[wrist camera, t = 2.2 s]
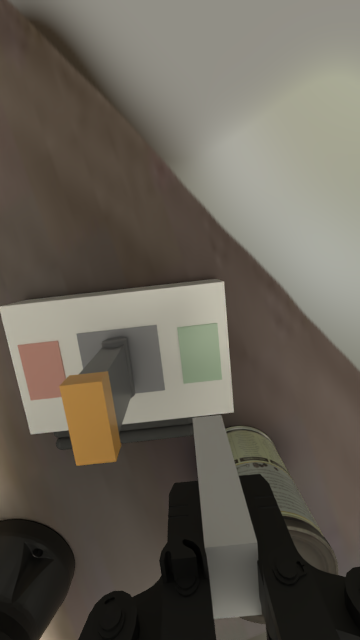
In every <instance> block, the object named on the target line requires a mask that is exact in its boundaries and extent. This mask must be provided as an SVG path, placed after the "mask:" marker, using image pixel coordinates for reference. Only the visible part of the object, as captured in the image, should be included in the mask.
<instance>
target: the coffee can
mask: <svg viewBox="0 0 360 640" xmlns="http://www.w3.org/2000/svg"><path fill="white" fill-rule="evenodd" d="M225 430H226V433H227V437H228V440H229V444H230V447H231V451H232V455H233V458H234V462H235V465H236V469H237V472H238V476H242V475H252V474H261V475H262V476H263V477H264V478H265V479H266V481H267V482H268V483H269V484H270V487H271V489H272V491H273V494H274V497H275V499H276V501H277V504H278V507H279V509H280V511H281V513H282V516H283V518H284V521H285V523H286V526H287V528H288V530H289V533H290V535H291V538H292V540H293V543H294V545H295V547H296V549H297V551H298V552H299V554H300V555H301V556H302V557H303V559H304V560H306V561H307V562H308V563H309V564H310V565H312V566H314V567H315V568H317V569H319V570H322V571H324V572H328V573H331V574H335V575H338V563H337V559H336V556H335V554H334V552H333V550H332V548H331V546H330V545H329V543H328V542H327V540H326V539H325V538H324V536H323V535H322V533H321V531H320V529H319V527H318V526H317V524H316V522H315V520H314V518H313V516H312V514H311V513H310V511H309V509H308V507H307V505H306V504H305V502H304V500H303V498H302V496H301V495H300V493H299V491H298V489H297V487H296V485H295V484H294V482H293V480H292V478H291V476H290V474H289V473H288V471H287V469H286V467H285V465H284V463H283V462H282V460H281V458H280V456H279V454H278V453H277V451H276V449H275V446H274V444H273V442H272V441H271V439H270V438H269V437H268V436H267V435H266V434H264V433H263V432H261V431H260V430H258V429H255V428H252V427H248V426H234V427H229V428H226V429H225ZM261 609H262V607H261ZM240 618H242V619H244V620H247V621H251V622H254V623H260V624H266V623H265V619H264V615H263V611H262V615H252V616H241V617H240Z"/></svg>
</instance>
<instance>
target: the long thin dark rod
mask: <svg viewBox="0 0 360 640" xmlns="http://www.w3.org/2000/svg"><path fill="white" fill-rule="evenodd" d="M192 418H195V417H187V418H177V419H168V420H159V421H150V422H140V423H131V424H122V426H121V429H120V432H119V437H120V443H129V442H138V441H148V440H157V439H166V438H175V437H185V436H192V435H194V429H193V423H192V422H193V419H192ZM53 433H54V435H55V436H56V437H58V440H57V442H56V446H57V448H58V449H60V450H64V449H73V448H72V443H71V438H70V434H69V430H67V431H58V432H53Z"/></svg>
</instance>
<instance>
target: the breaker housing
mask: <svg viewBox="0 0 360 640" xmlns="http://www.w3.org/2000/svg"><path fill="white" fill-rule="evenodd" d="M0 313H1V317H2V321H3V325H4V329H5V333H6V337H7V341H8V345H9V349H10V353H11V357H12V361H13V365H14V369H15V373H16V377H17V381H18V385H19V389H20V393H21V397H22V401H23V405H24V409H25V413H26V417H27V421H28V425H29V429H30V433H31V434H39V433H48V432H58V431H67V430H69V429H68V424H67V420H66V415H65V411H64V406H63V401H62V397H61V392H60V387H59V386H60V385H61V384H62V383H63V382H64V380H65V379H66V378H67V377H68V376H69V375H78V374H79V373H80V372H81V371H82V370H83V369H84V368H85V366H86V365H87V364H88V363H89V362H90V361H91V359H92V358H93V357H94V356H95V355H96V354H97V353H98V351H99V350H100V349H101V348H102V345H101V342H102V341H104V340H106V339H110V338H115V337H126V338H127V342H128V348H129V354H130V361H131V367H132V374H133V380H134V387H135V395H134V396H133V397H132V398H130V401H129V404H128V408H127V411H126V414H125V417H124V420H123V423H122V424H131V423H140V422H150V421H159V420H168V419H177V418H187V417H196V416H205V415H214V414H223V413H233V412H234V407H233V394H232V381H231V368H230V355H229V341H228V328H227V315H226V302H225V289H224V281H221V280H218V279H209V280H200V281H191V282H182V283H173V284H164V285H155V286H146V287H137V288H128V289H119V290H111V291H102V292H93V293H84V294H75V295H66V296H57V297H48V298H39V299H30V300H24V301H20V302H16V303H12V304H8V305H4V306H0Z"/></svg>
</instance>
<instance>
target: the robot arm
mask: <svg viewBox="0 0 360 640" xmlns="http://www.w3.org/2000/svg"><path fill="white" fill-rule="evenodd" d="M192 419H193V429H194V440H195V451H196V461H197V472H198V481H190V482H180V483H174V485H173V487H172V489H171V491H170V493H169V514H168V518H169V519H168V542H167V544H166V545H165V547H164V548H163V550H162V552H161V556H160V560H159V561H160V567H161V574H162V576H161V577H160V579H159V580H158V581H157V582H156V583H155V584H154V585H153V586H152V587H151V588H149V589H148V590H146V591H144V592H142V593H140V594H138V595H136V596H134V597H131V595H130V594H128V593H126V592H124V591H113V592H111V593H109V594H107V595H105V596H103V597H102V598H101V599H100V600H99V601H98V602H97V603H96V604H95V606H94V607H93V609H92V611H91V613H90V614H89V616H88V619H87V621H86V623H85V625H84V628H83V630H82V632H81V635H80V637H79V639H78V640H216V634H215V625H214V619H220V618H230V617H241V616H252V615H262V611H263V615H264V619H265V623H266V632H267V640H360V567H355V568H352V569H351V570H350V571H349V572H347V575H346V577H343V576H339V575H335V574H331V573H328V572H324V571H322V570H319V569H317V568H315V567H314V566H312V565H310V564H309V563H308V562H307V561H306V560H304V559H303V557H302V556H301V555H300V554H299V552H298V551H297V549H296V547H295V545H294V543H293V540H292V538H291V535H290V533H289V530H288V528H287V526H286V523H285V521H284V518H283V516H282V513H281V511H280V509H279V507H278V504H277V501H276V499H275V497H274V494H273V491H272V489H271V487H270V484H269V483H268V482H267V481H266V479H265V478H264V477H263V476H262V475H261V474H252V475H242V476H238V472H237V469H236V465H235V462H234V458H233V455H232V451H231V447H230V444H229V440H228V437H227V433H226V430H225V426H224V423H223V419H222V416H221V415H216V416H206V417H197V418H192ZM74 570H75V563H74V557H73V554H72V552H71V550H70V548H69V546H68V545H67V543H66V542H65V541H64V540H63V539H62V538H61V537H60V536H59V535H58V534H57V533H55V532H54V531H53V530H51V529H49V528H47V527H45V526H43V525H41V524H38V523H35V522H31V521H25V520H7V521H1V522H0V640H39V639H40V638H41V636H42V634H43V633H44V631H45V630H46V628H47V627H48V625H49V623H50V622H51V620H52V619H53V617H54V615H55V614H56V612H57V610H58V609H59V607H60V606H61V604H62V603H63V601H64V599H65V597H66V595H67V593H68V590H69V587H70V584H71V581H72V578H73V575H74ZM261 607H262V609H261Z"/></svg>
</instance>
